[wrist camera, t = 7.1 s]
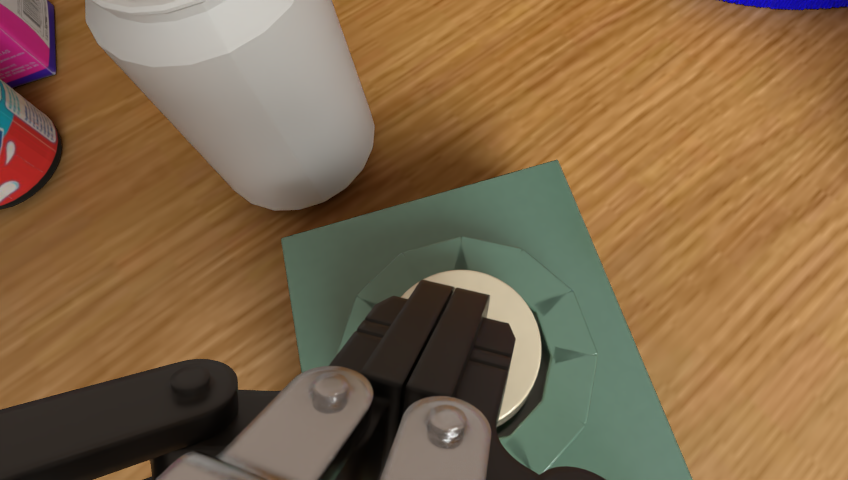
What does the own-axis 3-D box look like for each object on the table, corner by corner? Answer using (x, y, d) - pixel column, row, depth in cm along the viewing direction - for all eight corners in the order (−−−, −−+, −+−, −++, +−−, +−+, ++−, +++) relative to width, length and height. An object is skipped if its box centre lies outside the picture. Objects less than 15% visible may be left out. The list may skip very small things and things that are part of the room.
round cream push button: (378, 310, 16) (365, 292, 14) (510, 273, 16) (512, 251, 14) (411, 452, 14) (400, 449, 13) (558, 411, 14) (565, 403, 13)
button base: (323, 285, 24) (259, 215, 17) (545, 222, 23) (563, 128, 17) (382, 603, 19) (322, 670, 12) (664, 526, 19) (750, 553, 12)
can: (345, 66, 28) (249, -191, 17) (403, 176, 25) (331, -52, 14) (212, 126, 28) (27, -99, 17) (255, 245, 25) (63, 65, 14)
